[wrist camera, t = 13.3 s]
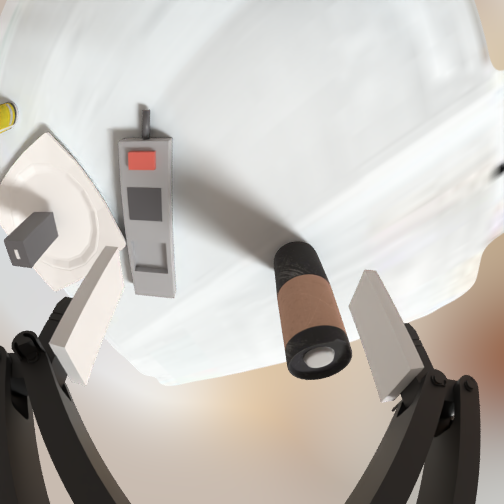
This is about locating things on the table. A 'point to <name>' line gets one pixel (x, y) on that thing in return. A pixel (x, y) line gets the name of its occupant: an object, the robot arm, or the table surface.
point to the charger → (31, 239)
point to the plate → (59, 210)
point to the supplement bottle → (8, 116)
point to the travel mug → (309, 315)
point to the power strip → (148, 211)
